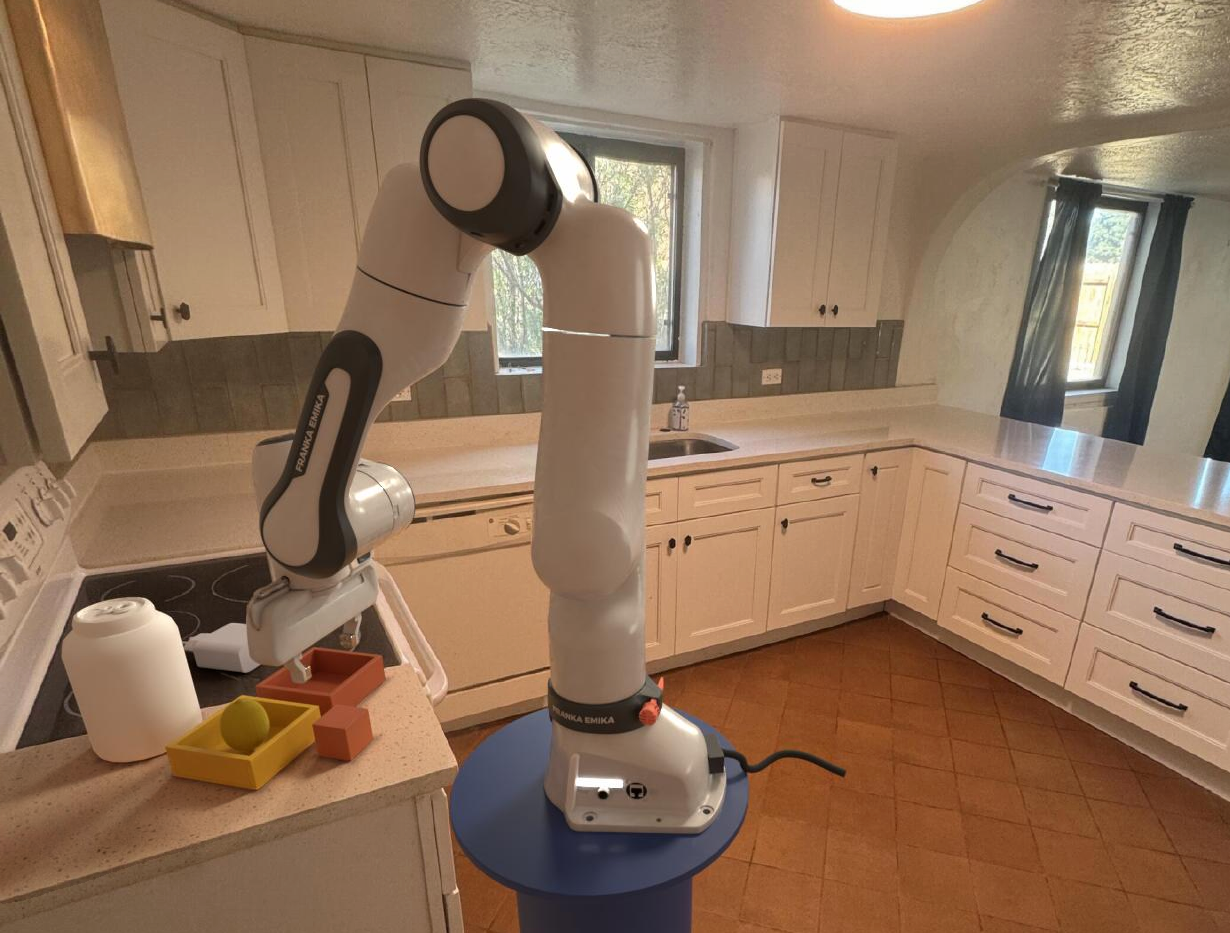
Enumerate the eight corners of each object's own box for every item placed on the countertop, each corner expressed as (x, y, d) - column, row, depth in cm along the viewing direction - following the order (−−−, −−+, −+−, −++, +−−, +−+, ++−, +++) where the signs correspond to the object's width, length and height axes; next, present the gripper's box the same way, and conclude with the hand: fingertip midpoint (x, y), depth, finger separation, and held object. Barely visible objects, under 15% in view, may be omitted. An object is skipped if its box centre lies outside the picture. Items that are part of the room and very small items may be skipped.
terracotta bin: (386, 679, 112) (382, 655, 110) (335, 723, 100) (330, 696, 99) (317, 671, 114) (313, 646, 113) (260, 712, 103) (254, 686, 101)
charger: (210, 641, 124) (284, 649, 121) (166, 666, 116) (244, 675, 113) (204, 617, 122) (278, 624, 120) (159, 640, 114) (237, 649, 111)
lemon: (256, 734, 97) (244, 684, 94) (283, 745, 95) (272, 694, 92) (218, 756, 92) (204, 704, 89) (245, 768, 90) (231, 715, 87)
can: (208, 704, 105) (175, 582, 98) (199, 749, 94) (162, 616, 87) (106, 725, 100) (63, 598, 92) (85, 776, 89) (35, 636, 82)
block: (373, 739, 97) (368, 708, 95) (351, 761, 92) (345, 729, 90) (342, 734, 98) (336, 704, 96) (318, 756, 93) (311, 724, 91)
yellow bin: (324, 732, 98) (318, 705, 97) (257, 790, 87) (249, 760, 85) (248, 721, 101) (241, 694, 99) (173, 776, 89) (164, 746, 88)
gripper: (270, 599, 75) (292, 708, 80) (381, 540, 94) (393, 631, 99) (220, 593, 77) (245, 701, 81) (339, 536, 95) (354, 626, 100)
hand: (327, 662), depth 90 cm, fingers open, 8 cm apart
